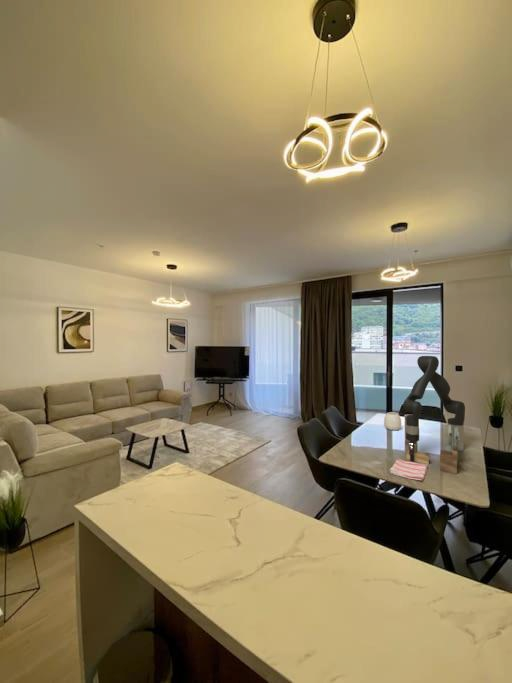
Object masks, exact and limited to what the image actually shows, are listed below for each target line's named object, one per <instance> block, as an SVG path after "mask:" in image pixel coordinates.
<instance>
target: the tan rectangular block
mask: <svg viewBox="0 0 512 683" xmlns="http://www.w3.org/2000/svg"><path fill="white" fill-rule="evenodd" d="M411 453H413V452H411ZM414 454H415V455H414V461H413V463H419V464H426V465H429V464H430V452H421V451H420V452H419V451H415V452H414ZM406 461H408V462H411V461H410V454H409V449H408V450H407V451H406Z"/></svg>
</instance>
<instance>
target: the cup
mask: <svg viewBox="0 0 512 683" xmlns="http://www.w3.org/2000/svg"><path fill="white" fill-rule="evenodd" d="M383 425H384V427H385V428H386V429H387V430H390V431H398V430H400V429H401V428H402V418H401V416H400V414H399V413H398V412H393V411H391V412H386V414H385V416H384V419H383Z"/></svg>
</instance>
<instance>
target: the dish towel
mask: <svg viewBox="0 0 512 683" xmlns="http://www.w3.org/2000/svg"><path fill="white" fill-rule="evenodd" d="M428 468H429V464H424V463H419V462H414V461H409V460H403V459H400V458H398V459H396V460H395V462H394V463H393V465H392V467H390V468H389V473H390V475H393V476H396V477H401V478H405V479H409V480H414V481H418V482H419V481H420V482H424V480H425V478H426V475H427V472H428Z"/></svg>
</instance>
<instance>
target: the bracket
mask: <svg viewBox="0 0 512 683" xmlns="http://www.w3.org/2000/svg"><path fill="white" fill-rule="evenodd" d="M458 436H459V432H458V428H456V427H455V431H454V443H455V446H456V447H457V463H458V460H459V459H458V458H459V456H458V455H459V454H458V453H459V451H458V445H459V437H458ZM448 443H449V445H448ZM444 450H447V451H453V450H452V432H451V425H448V424H447V444H444Z"/></svg>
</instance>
